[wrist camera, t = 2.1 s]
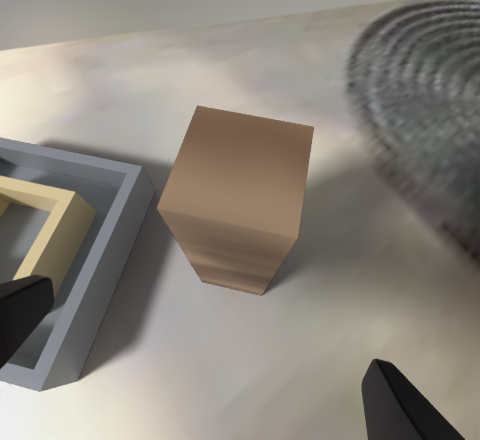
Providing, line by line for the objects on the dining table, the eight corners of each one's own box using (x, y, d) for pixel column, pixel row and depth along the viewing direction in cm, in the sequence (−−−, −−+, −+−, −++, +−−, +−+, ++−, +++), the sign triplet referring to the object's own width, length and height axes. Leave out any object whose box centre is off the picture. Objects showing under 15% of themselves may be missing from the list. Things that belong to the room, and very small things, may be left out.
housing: (77, 380, 17) (33, 393, 13) (-119, 327, 18) (-212, 325, 14) (155, 191, 22) (139, 162, 18) (3, 159, 23) (-41, 125, 20)
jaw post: (261, 295, 19) (297, 238, 8) (201, 281, 19) (156, 208, 8) (272, 238, 21) (314, 126, 10) (217, 227, 21) (197, 105, 10)
